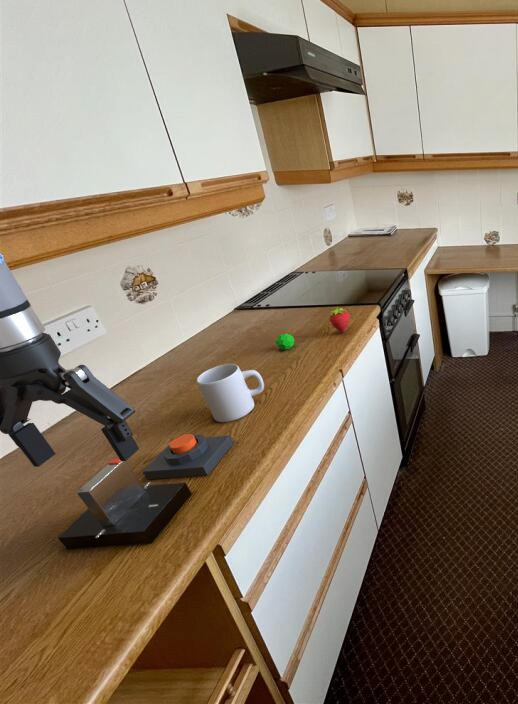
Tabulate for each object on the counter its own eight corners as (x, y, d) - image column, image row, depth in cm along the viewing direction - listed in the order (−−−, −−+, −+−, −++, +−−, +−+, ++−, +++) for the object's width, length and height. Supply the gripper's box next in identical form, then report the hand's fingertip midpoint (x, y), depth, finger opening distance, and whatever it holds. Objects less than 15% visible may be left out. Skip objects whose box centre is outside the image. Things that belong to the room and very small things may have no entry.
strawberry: (354, 326, 138) (347, 299, 134) (352, 336, 131) (344, 307, 127) (335, 329, 137) (328, 302, 132) (332, 339, 130) (324, 311, 126)
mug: (213, 427, 94) (194, 388, 89) (215, 409, 100) (197, 371, 95) (271, 407, 99) (256, 369, 94) (269, 391, 106) (254, 355, 101)
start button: (168, 455, 81) (164, 448, 80) (182, 441, 85) (178, 434, 84) (188, 453, 81) (184, 447, 80) (201, 439, 85) (198, 433, 84)
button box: (146, 479, 80) (137, 464, 78) (178, 447, 88) (171, 432, 87) (207, 475, 80) (199, 460, 79) (234, 443, 88) (227, 428, 87)
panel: (63, 553, 67) (52, 540, 65) (120, 496, 77) (112, 484, 75) (148, 546, 67) (139, 534, 65) (194, 491, 77) (187, 479, 75)
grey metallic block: (113, 525, 67) (87, 490, 64) (101, 526, 67) (75, 491, 64) (146, 491, 74) (124, 457, 70) (135, 492, 74) (113, 458, 70)
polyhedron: (299, 346, 127) (294, 333, 125) (284, 353, 123) (279, 340, 121) (290, 343, 130) (286, 329, 128) (275, 350, 126) (270, 336, 124)
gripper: (123, 324, 59) (182, 436, 69) (-49, 335, 59) (33, 445, 69) (75, 350, 53) (147, 470, 62) (-119, 362, 52) (-17, 481, 62)
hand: (88, 457), depth 65 cm, fingers open, 13 cm apart
